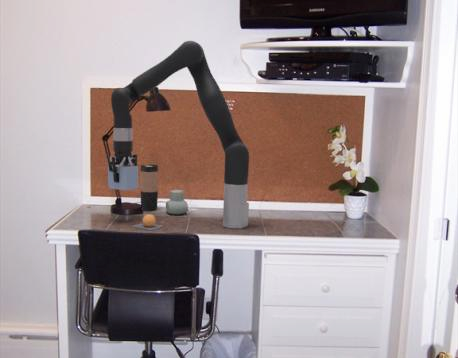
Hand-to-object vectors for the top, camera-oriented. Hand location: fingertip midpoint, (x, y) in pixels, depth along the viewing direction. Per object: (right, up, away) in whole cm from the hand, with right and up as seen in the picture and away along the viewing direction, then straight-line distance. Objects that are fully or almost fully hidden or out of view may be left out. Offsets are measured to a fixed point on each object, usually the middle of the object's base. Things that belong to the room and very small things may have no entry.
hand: (123, 181), depth 202 cm
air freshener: (+19, -14, +21) cm, 31 cm away
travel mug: (+6, -13, +26) cm, 30 cm away
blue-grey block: (0, -3, 0) cm, 3 cm away
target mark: (+10, -18, -5) cm, 21 cm away
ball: (+11, -15, -5) cm, 20 cm away
